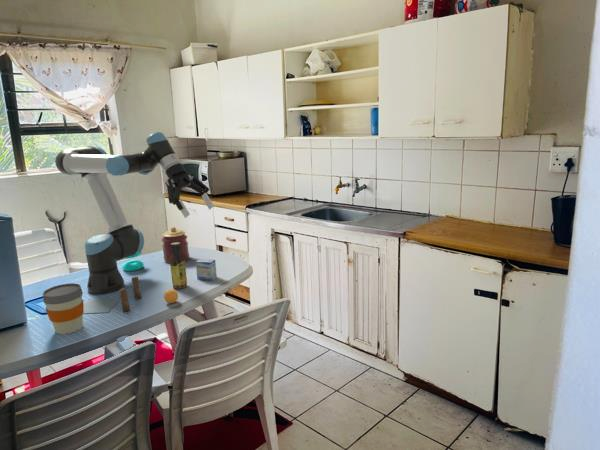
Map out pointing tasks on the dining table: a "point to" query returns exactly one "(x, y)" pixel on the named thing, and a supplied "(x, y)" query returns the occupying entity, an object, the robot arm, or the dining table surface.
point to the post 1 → (124, 300)
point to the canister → (174, 237)
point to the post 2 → (136, 288)
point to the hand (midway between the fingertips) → (200, 211)
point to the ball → (170, 296)
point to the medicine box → (206, 269)
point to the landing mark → (100, 305)
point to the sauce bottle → (178, 267)
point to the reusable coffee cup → (64, 307)
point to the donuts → (133, 263)
